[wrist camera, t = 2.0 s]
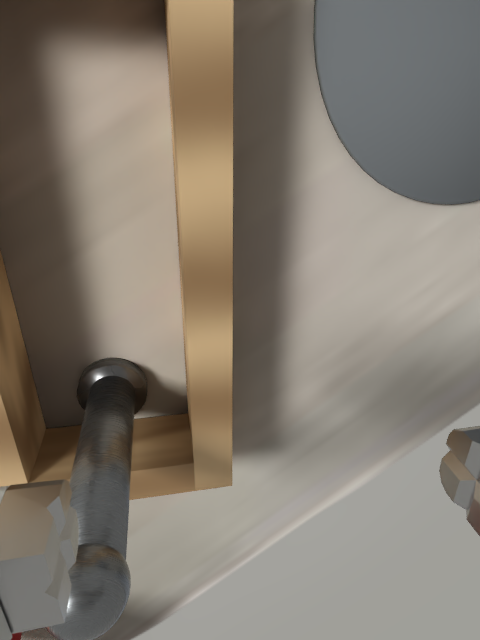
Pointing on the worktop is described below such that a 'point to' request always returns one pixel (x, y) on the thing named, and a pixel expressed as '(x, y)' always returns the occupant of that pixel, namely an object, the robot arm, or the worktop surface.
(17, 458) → the oak link
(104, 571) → the grey metal rod
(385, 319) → the worktop surface
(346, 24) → the slate mat
